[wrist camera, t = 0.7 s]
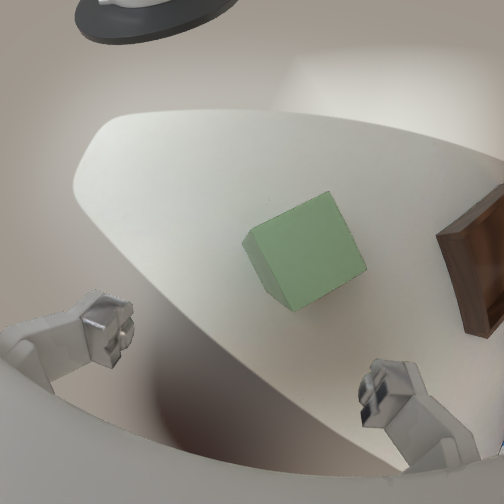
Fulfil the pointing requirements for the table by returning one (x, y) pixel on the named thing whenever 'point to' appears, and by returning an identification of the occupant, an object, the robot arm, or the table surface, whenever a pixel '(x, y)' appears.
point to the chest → (478, 263)
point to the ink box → (502, 450)
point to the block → (304, 252)
